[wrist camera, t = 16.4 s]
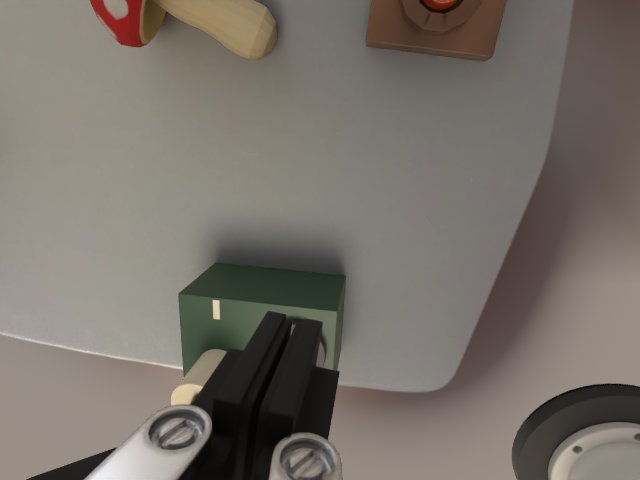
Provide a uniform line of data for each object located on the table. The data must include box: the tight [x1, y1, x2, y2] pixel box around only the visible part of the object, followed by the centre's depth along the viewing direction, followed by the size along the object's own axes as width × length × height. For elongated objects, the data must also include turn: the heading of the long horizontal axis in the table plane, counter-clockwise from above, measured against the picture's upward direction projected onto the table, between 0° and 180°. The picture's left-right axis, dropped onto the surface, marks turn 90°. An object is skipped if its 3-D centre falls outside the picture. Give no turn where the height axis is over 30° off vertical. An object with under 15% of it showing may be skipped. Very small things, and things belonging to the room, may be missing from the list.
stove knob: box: [171, 349, 227, 405], centre depth 33 cm, size 4×4×6 cm
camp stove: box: [178, 263, 346, 377], centre depth 38 cm, size 14×9×9 cm, turn 87°
